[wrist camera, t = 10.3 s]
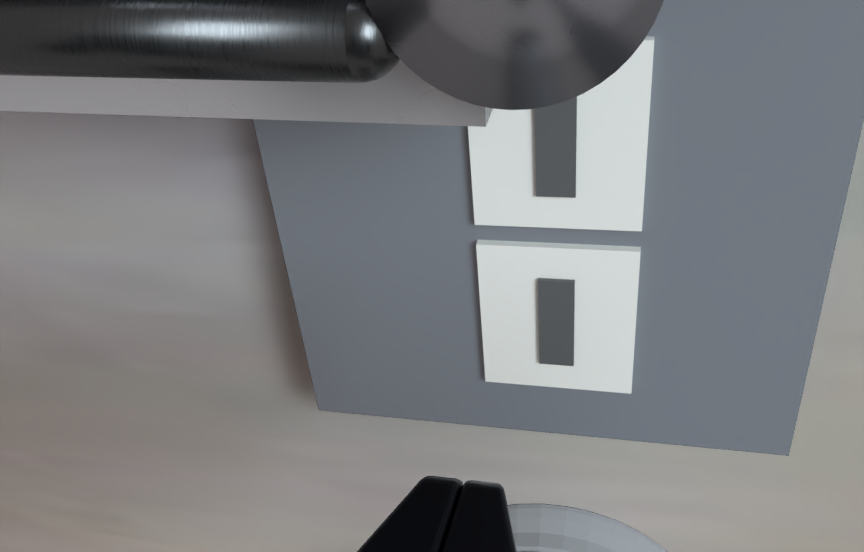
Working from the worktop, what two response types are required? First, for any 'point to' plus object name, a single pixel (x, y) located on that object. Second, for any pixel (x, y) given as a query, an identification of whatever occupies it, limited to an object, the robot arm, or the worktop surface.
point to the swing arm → (312, 57)
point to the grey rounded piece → (573, 531)
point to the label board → (589, 239)
